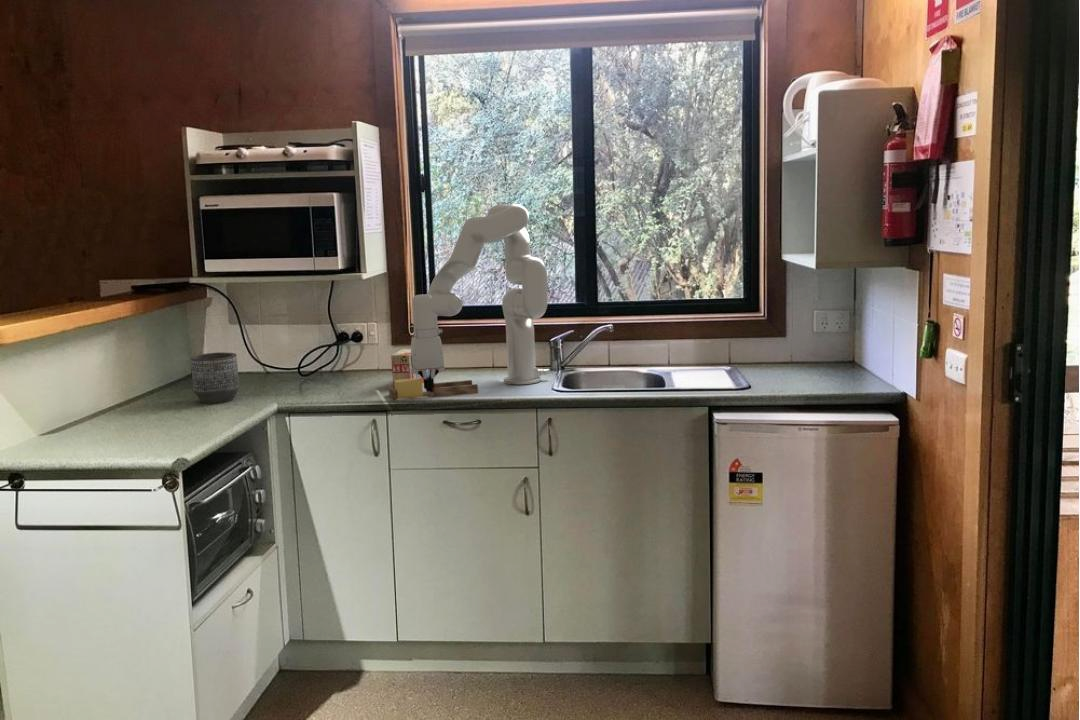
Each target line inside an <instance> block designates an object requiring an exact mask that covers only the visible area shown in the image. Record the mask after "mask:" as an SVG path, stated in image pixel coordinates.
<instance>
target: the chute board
mask: <svg viewBox="0 0 1080 720" xmlns="http://www.w3.org/2000/svg"><path fill="white" fill-rule="evenodd" d="M478 385H479V384H475V383H474V384H473V380H472V379H468V380H467V379H466V380H457V381H445V382H434V388H432V391H426V390H425V391H423V396H420V397H409V398H397V397H396V392H395V388H393V386H391V387H390V386H389V387H388V396H389V397H390V398H391V399H392V401H403V400H412V399H423V398H425V399H427V398H434V397H435V398H436V397H443V396H457V395H468V394H469V395H470V394H477V393H479V387H478Z"/></svg>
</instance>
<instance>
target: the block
mask: <svg viewBox="0 0 1080 720" xmlns="http://www.w3.org/2000/svg"><path fill="white" fill-rule="evenodd" d="M394 382H395V388H394V391H395V392H396V397H397V398H409V397H420V396H423V392H424V390H423V383H422V380H421V379H420V378H415V379H403V380H394Z"/></svg>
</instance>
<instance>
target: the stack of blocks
mask: <svg viewBox="0 0 1080 720" xmlns="http://www.w3.org/2000/svg"><path fill="white" fill-rule="evenodd" d="M390 357H391V372H392V388H393V389H395V382H394V380H403V379H415V378H420V379H421V380H422V384H424V379H423V377H421V376H420V375H419V374H413V373H411V369H412V366H411V348H403V349H400V350H398V351H396V352H395V353H393V354H391V356H390ZM420 371H421V370H420ZM426 373H427V377H429V375H430V369H427V370H426Z"/></svg>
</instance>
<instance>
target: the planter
mask: <svg viewBox="0 0 1080 720" xmlns="http://www.w3.org/2000/svg"><path fill="white" fill-rule="evenodd" d="M190 369H191V377H192V390H193V392H194V394H195V396H196V397H197V398H198V399H199V401H200V402H201V403H202V404H204V405H205V404H206V405H216V404H218V405H219V404H225V403H229V402H232V401H234V399H235V398H236V395H237V393H238V391H239V389H240V377H239V367H238V356H237V353H235V352H225V351H224V352H210V353H209V352H208V353H202V354H197V355H193V356H190Z"/></svg>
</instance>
